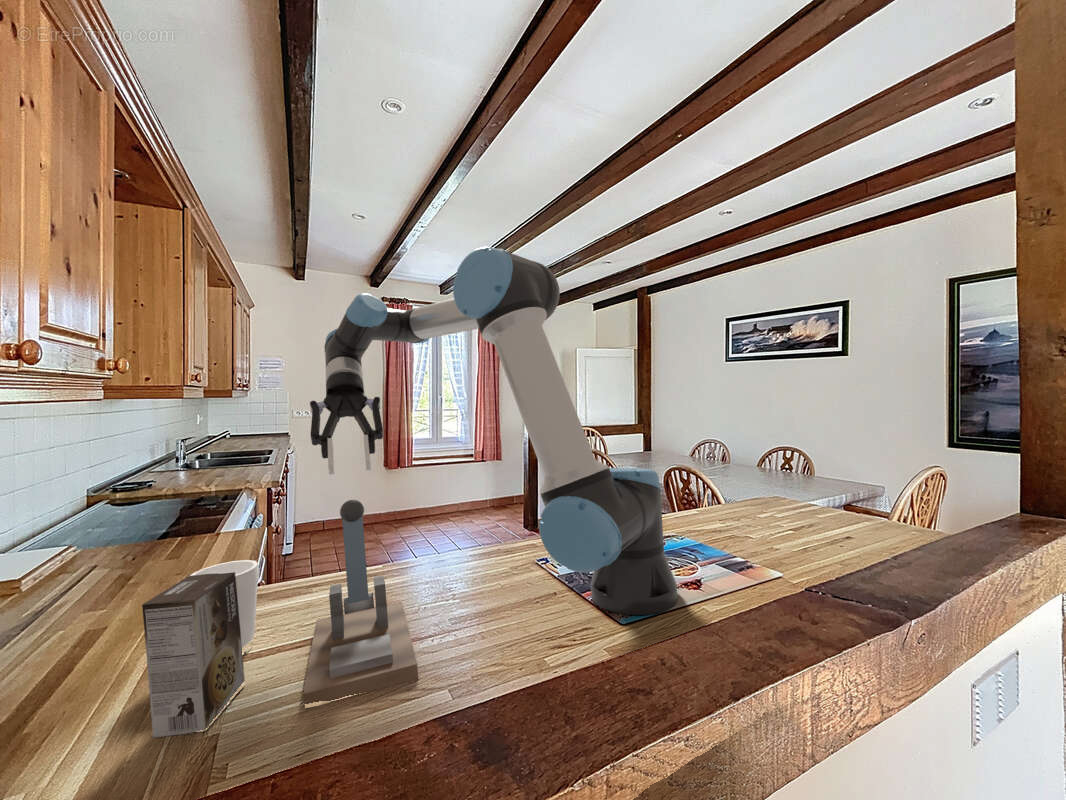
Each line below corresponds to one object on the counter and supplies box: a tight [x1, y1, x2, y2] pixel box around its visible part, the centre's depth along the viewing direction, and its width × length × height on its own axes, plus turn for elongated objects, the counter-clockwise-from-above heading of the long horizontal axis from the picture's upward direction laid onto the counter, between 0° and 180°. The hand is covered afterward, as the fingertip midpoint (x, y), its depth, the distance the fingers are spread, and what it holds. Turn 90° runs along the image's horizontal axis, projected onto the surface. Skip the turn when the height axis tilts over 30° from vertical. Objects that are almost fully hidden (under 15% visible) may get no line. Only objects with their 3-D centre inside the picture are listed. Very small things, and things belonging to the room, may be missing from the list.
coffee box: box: [141, 572, 246, 738], centre depth 60 cm, size 9×6×16 cm
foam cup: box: [189, 559, 260, 647], centre depth 75 cm, size 10×9×13 cm
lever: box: [339, 499, 375, 614], centre depth 75 cm, size 4×4×18 cm
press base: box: [302, 575, 419, 705], centre depth 72 cm, size 22×14×9 cm, turn 21°
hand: (349, 467), depth 87 cm, fingers open, 6 cm apart
